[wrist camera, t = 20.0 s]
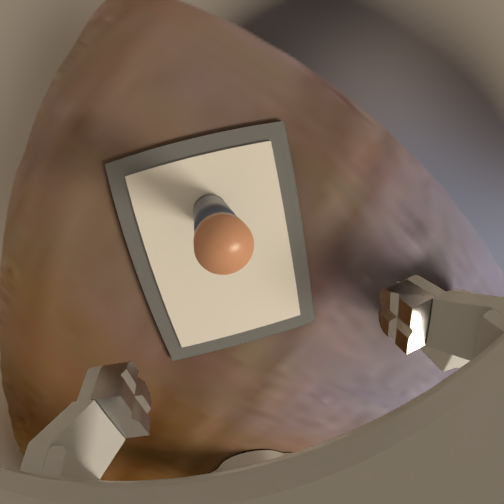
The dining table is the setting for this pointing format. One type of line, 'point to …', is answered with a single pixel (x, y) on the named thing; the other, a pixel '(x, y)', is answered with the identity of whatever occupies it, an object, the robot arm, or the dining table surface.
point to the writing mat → (182, 234)
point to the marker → (220, 236)
